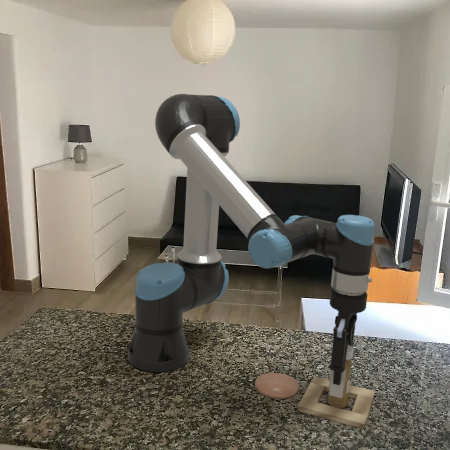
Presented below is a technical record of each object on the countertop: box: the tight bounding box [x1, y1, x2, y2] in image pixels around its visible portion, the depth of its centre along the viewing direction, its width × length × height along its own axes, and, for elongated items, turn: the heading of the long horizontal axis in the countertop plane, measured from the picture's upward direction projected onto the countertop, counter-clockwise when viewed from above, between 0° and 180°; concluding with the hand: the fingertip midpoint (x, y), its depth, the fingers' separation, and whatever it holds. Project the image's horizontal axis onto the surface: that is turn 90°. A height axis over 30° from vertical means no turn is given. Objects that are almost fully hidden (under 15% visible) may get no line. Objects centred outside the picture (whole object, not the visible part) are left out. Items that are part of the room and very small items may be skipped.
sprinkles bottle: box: [326, 345, 355, 409], centre depth 114 cm, size 5×5×14 cm
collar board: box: [297, 376, 376, 430], centre depth 115 cm, size 14×14×1 cm
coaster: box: [254, 372, 300, 400], centre depth 121 cm, size 10×10×1 cm
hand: (338, 390), depth 115 cm, fingers closed on sprinkles bottle, 4 cm apart
